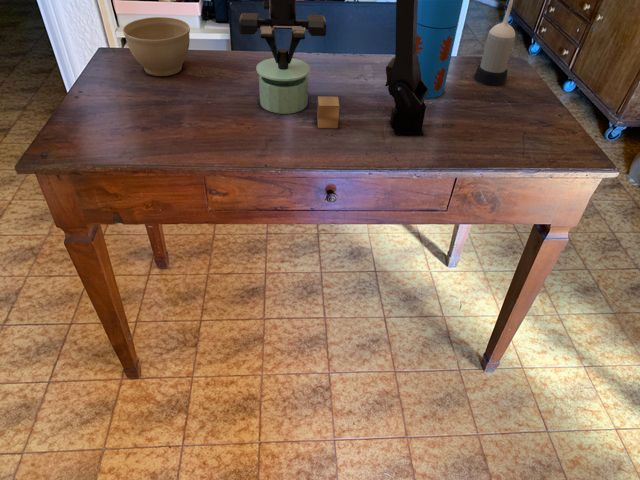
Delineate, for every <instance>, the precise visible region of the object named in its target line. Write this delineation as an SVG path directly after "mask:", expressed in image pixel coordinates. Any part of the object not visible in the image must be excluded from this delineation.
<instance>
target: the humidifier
mask: <svg viewBox="0 0 640 480" xmlns="http://www.w3.org/2000/svg"><path fill="white" fill-rule="evenodd" d="M513 2H514V0H509V1H508V4H507V8H506V12H505V15H504V18H503V20H502V21H501V22H499V23H497V24H495V25H494V26H493V27H492V28H490V29H489V30H488V31H489V32H488V34H487V38H486V41H485V46H484V49H483V53H482V57H481V61H480V64H478V65H477V68H476V70H475V74H474V80H475V81H476V82H478V83H480V84H482V85H486V86H491V87H493V86H495V87H496V86H502V85H504V84H505V83H506V80H507V77H508V69H507V68H508V64H509V61H510V57H511V54H512V50H513V47H514V43H515V41H516V31H515V29H514V28H513V26H512V25H510V24H509V18H510V13H511V11H512V7H513V5H514V4H513Z"/></svg>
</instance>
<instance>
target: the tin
mask: <svg viewBox="0 0 640 480" xmlns="http://www.w3.org/2000/svg"><path fill="white" fill-rule="evenodd" d="M258 84H259V85H258V87H259V90H258V91H259V103H260V106H261V107H262V109H264V110H266V111H268V112H271V113H274V114H283V115H287V114H294V113H298V112H301V111H303V110H305V109H306V107H307V106H308V100H309V99H308V97H309V74H308V75H307V76H306V77H304V78H301V79H298V80H293V81H275V80H270V79H267V78H264V77H262V76H260V75H259V74H258Z"/></svg>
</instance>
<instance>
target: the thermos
mask: <svg viewBox="0 0 640 480" xmlns="http://www.w3.org/2000/svg"><path fill="white" fill-rule="evenodd" d="M463 3H464V0H418V12H417V37H416V53H417V56H418V60H419V63H420V71H421V79H422V81H423V82H424V83H425V85H426V86H427V88H428V89H429V92H428V94H427V96H426V98H425V99H434V98H437V97H440V96H441V95H442V94H444V89H445V85H446V81H447V78H448V74H449V73H448V72H449V68H450V63H451V58H452V54H453V49H454V46H455V41H456V36H457V30H458V27H459V22H460V16H461V13H462V7H463Z"/></svg>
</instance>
